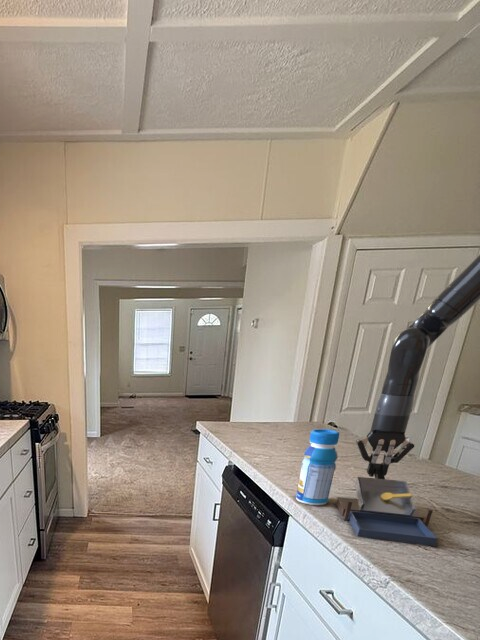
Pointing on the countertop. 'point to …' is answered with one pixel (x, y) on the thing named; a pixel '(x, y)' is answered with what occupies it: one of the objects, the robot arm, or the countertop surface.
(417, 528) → the tray
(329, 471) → the beverage bottle
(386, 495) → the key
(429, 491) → the countertop surface
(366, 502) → the grey dustpan
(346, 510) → the stand
